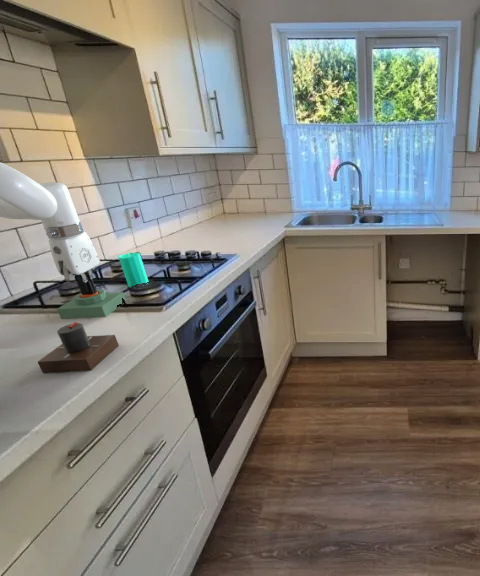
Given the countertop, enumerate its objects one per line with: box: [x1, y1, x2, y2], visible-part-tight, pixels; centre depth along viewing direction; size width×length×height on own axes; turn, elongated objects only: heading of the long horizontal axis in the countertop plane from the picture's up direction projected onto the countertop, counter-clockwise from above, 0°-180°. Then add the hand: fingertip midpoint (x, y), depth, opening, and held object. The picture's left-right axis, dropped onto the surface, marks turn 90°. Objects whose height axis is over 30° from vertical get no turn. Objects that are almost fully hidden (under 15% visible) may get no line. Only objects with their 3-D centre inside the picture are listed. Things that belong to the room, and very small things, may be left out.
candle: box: [118, 249, 149, 288], centre depth 121 cm, size 6×6×12 cm
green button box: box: [56, 289, 127, 320], centre depth 104 cm, size 12×10×5 cm
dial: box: [56, 321, 90, 353], centre depth 80 cm, size 4×4×5 cm
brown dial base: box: [37, 334, 120, 374], centre depth 82 cm, size 10×10×3 cm
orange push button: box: [81, 292, 98, 298], centre depth 104 cm, size 4×4×2 cm
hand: (89, 293), depth 103 cm, fingers closed
